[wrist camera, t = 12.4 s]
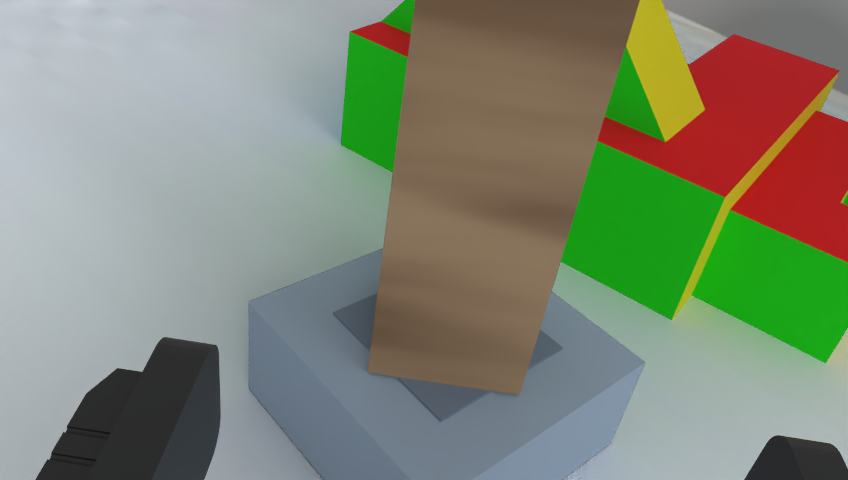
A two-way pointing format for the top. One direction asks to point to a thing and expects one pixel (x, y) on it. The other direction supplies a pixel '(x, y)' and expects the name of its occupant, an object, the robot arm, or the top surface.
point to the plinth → (428, 391)
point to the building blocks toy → (684, 176)
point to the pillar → (489, 180)
